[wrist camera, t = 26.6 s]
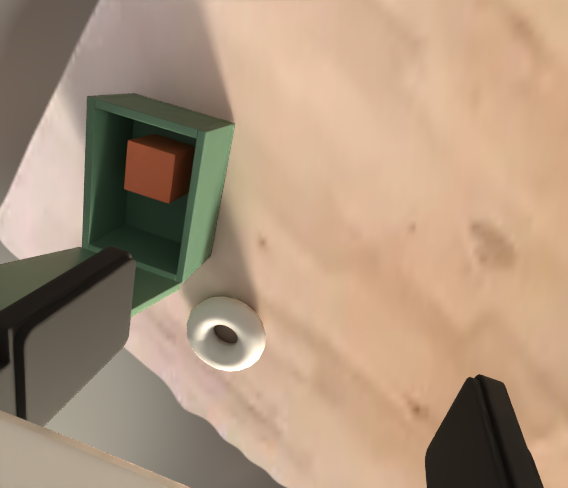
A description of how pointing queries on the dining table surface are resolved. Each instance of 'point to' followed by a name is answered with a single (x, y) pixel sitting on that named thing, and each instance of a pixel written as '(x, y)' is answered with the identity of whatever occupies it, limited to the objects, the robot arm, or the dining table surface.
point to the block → (159, 167)
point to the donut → (236, 319)
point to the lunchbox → (144, 210)
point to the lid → (42, 269)
